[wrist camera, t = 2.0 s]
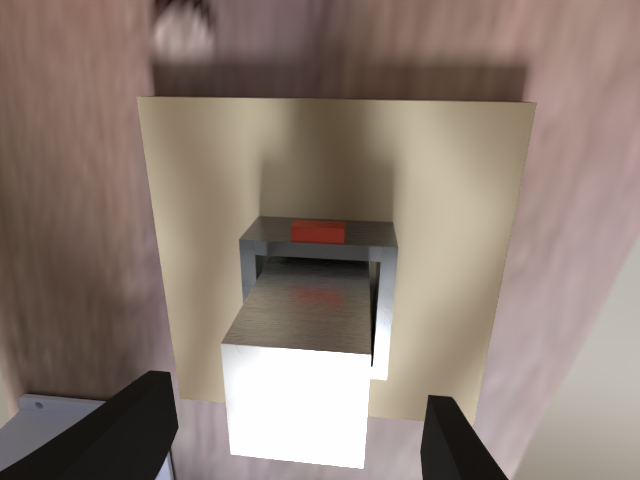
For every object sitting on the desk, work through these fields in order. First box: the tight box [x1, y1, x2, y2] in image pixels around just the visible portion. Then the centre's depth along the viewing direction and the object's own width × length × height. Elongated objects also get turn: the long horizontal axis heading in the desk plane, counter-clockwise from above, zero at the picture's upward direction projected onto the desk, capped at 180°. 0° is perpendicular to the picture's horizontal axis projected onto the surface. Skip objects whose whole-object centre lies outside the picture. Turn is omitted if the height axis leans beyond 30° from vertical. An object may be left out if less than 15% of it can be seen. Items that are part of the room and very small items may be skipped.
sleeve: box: [239, 216, 398, 380], centre depth 17 cm, size 6×7×3 cm
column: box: [221, 256, 371, 468], centre depth 15 cm, size 4×4×8 cm
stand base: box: [137, 96, 537, 426], centre depth 19 cm, size 16×16×2 cm
